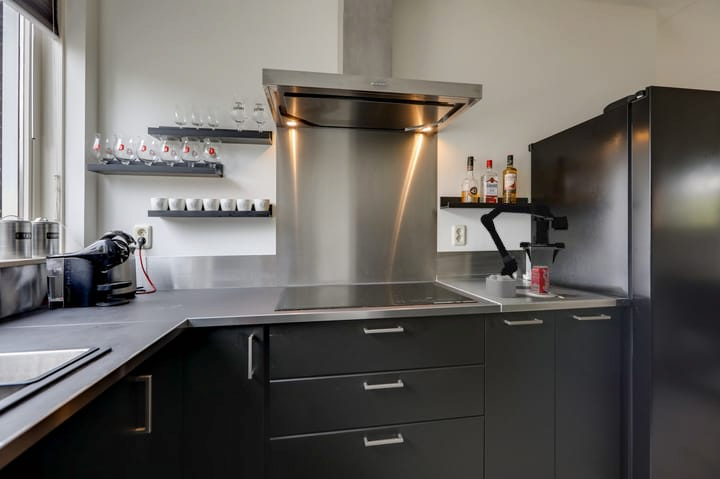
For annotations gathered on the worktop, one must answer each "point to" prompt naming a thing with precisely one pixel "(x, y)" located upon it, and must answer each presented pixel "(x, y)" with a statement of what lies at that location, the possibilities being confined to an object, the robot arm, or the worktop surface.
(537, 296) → the coaster
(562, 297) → the tear line
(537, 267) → the soda can
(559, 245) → the robot arm
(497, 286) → the grey bumpy block
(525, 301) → the worktop surface
